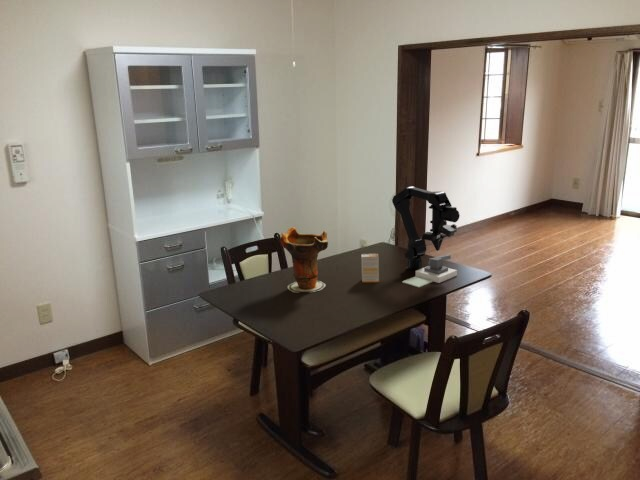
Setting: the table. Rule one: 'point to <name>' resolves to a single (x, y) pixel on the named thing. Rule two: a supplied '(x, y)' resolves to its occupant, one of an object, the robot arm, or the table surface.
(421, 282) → the pad
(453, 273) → the socket block
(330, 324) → the table surface
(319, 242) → the decorative vase
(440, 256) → the bar
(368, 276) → the supplement box
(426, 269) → the plug
